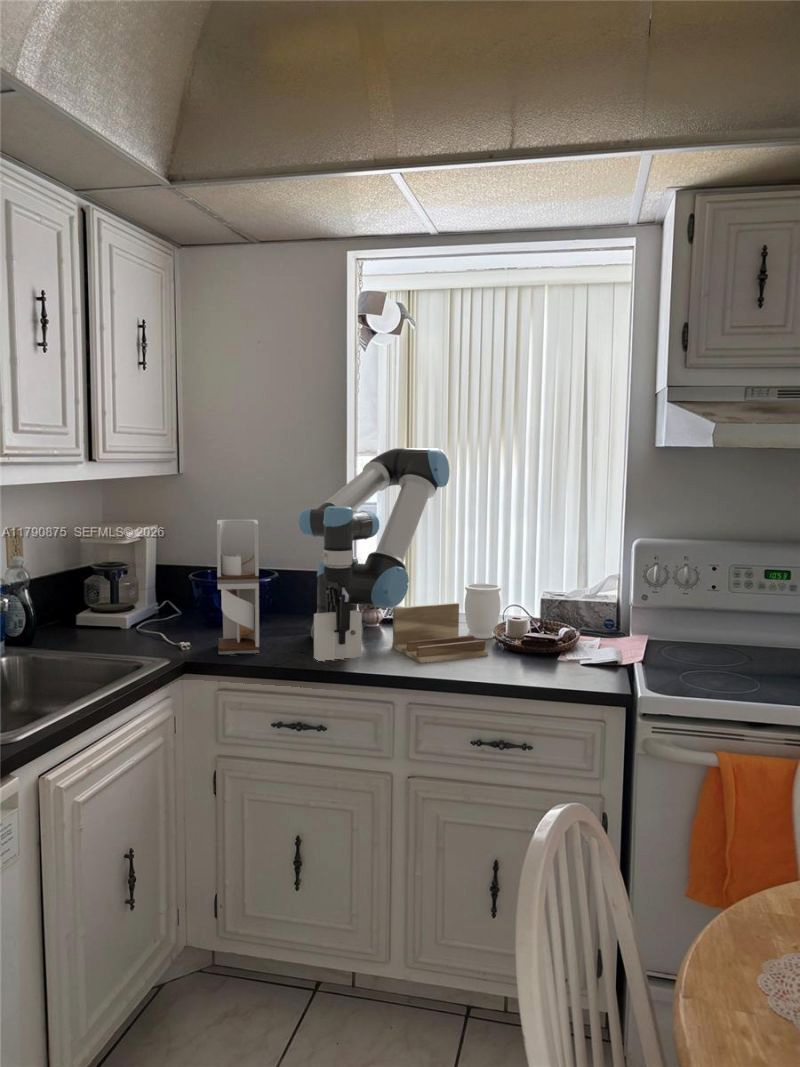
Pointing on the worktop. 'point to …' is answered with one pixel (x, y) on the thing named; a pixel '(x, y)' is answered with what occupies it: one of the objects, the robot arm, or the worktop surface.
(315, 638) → the door panel
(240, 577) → the spiral ramp tower
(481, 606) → the jar
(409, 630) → the track base
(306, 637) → the worktop surface
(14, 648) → the worktop surface
